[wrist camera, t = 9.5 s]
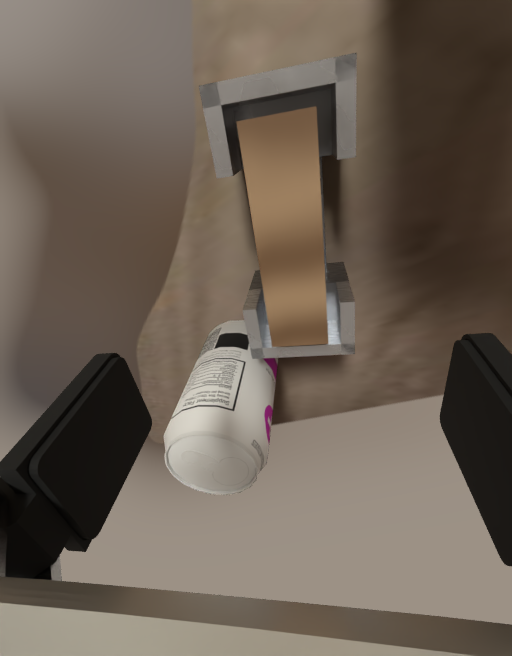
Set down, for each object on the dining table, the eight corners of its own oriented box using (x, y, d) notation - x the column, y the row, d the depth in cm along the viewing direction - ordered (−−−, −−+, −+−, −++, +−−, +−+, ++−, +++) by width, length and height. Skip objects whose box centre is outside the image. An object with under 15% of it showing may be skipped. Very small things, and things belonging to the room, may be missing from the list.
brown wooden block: (249, 121, 21) (236, 121, 16) (313, 109, 20) (316, 106, 16) (276, 313, 28) (272, 347, 24) (324, 309, 27) (328, 343, 23)
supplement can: (291, 335, 35) (285, 456, 22) (260, 386, 39) (240, 510, 27) (222, 304, 34) (174, 412, 21) (197, 359, 38) (145, 476, 26)
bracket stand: (228, 88, 24) (196, 74, 17) (339, 66, 23) (356, 39, 15) (263, 312, 34) (253, 363, 27) (343, 307, 32) (354, 359, 25)
